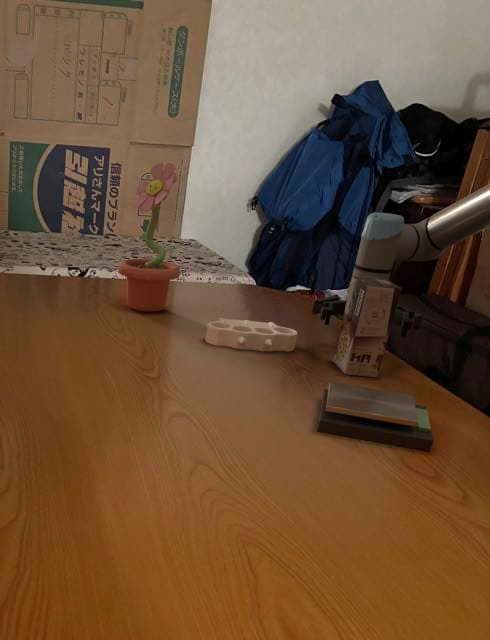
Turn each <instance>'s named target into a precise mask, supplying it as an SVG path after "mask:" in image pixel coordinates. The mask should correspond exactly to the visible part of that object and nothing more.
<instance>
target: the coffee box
mask: <svg viewBox="0 0 490 640" xmlns="http://www.w3.org/2000/svg"><path fill="white" fill-rule="evenodd" d="M351 279H352V282H351V281H350V282H351V286H350V290H349V295H348V294H347V298H348V299H347V298H346V299H347V303H346V307H345V311H344V315H342V320H341V324H340V329H339V334H338V337H337V338H338V339H337V343H336V345H335V350H334V355H333V359H332V362H333V363H334V364H335V365H336V366H337V367H338V368H339V370H340V371H341V372H343V374H345V375H347V376H348V375H349V376H359V377H367V378H378V375H379V372H380V368H381V364H382V361H383V358H384V354H385V350H386V347H387V343H388V340H389V336H390V333H391V329H392V326H393V323H392V322H393V319H394V315H395V312H396V308H397V305H398V304H399V300H400V297H401V293H402V291H403V288H402V287H401V286H399V285H398V284H396V283H394V282H393V281H390V279H389V280H387V279H384V278H374V277H354V276H353V278H352V277H351Z"/></svg>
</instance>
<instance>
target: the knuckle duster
mask: <svg viewBox="0 0 490 640" xmlns="http://www.w3.org/2000/svg"><path fill="white" fill-rule="evenodd" d="M298 334H299V333H298V331H296V330H295V329H293V328H289V327H286V326H285V327H284V326H280V325H277V324H276V323H275V322H274V321H268V322H263V321H255V320H254V321H253V320H249V319H244V320H242V319H230V318H224V317H219V318H217V320H216V321H210V322H208V323H207V326H206V334H205V337H204V338H205V339H204V340H205V342H206V343H207V344H209V345H212V346H216V347H226V348H227V347H228V348H233V349H236V350H242V351H257V352H261V353H263V352H264V353H265V352H293V351H295V348H296V344H297V341H298V340H297V339H298Z"/></svg>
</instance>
